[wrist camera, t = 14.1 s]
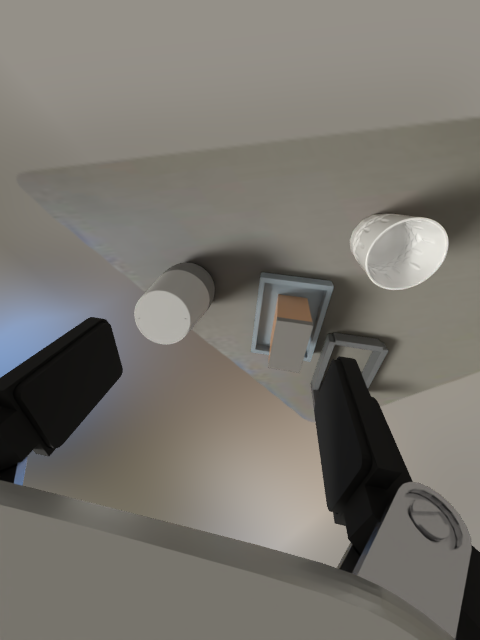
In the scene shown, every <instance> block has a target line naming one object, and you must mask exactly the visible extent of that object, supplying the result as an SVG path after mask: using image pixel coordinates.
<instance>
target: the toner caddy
mask: <svg viewBox="0 0 480 640" xmlns="http://www.w3.org/2000/svg"><path fill="white" fill-rule="evenodd" d="M312 328H313V322H312V318H311V313H310V308H309V304H308V299H307V298H303V297H295V296H288V295H281V294H278V298H277V304H276V309H275V315H274V321H273V326H272V332H271V339H270V351H269V363H268V368H272V369H278V370H284V371H290V372H296V373H300V370H301V366H302V363H303V359H304V356H305V352H306V349H307V345H308V342H309V339H310V335H311V332H312Z"/></svg>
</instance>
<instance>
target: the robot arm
mask: <svg viewBox="0 0 480 640" xmlns="http://www.w3.org/2000/svg"><path fill="white" fill-rule="evenodd" d="M122 370H123V369H122V365H121V361H120V357H119V354H118V350H117V346H116V343H115V339H114V335H113V332H112V328H111V325H110V324H109V323H108V322H107V320H105V319H101V318H94V317H90V318H88V319H86V320H85V321H84V322H82V323H81V324H79V325H78V326H76V327H75V328H73V329H72V330H70V331H69V332H67V333H66V334H64V335H63V336H62V337H60V338H59V339H57V340H56V341H54V342H53V343H51V344H50V345H48V346H47V347H45V348H44V349H43V350H41V351H39V352H38V353H36V354H35V355H33V356H32V357H30V358H29V359H27V360H26V361H25V362H23V363H22V364H20V365H19V366H17V367H16V368H14V369H13V370H11V371H10V372H8V373H7V374H5V375H4V376H2V377H1V378H0V640H480V552H479V551H478V550H476V549H475V548H474V547H473V546H472V545H471V537H470V534H469V532H468V529H467V527H466V525H465V523H464V521H463V520H462V518H461V516H460V515H459V514H458V512H457V511H456V510H455V509H454V507H453V506H452V505H451V504H450V503H449V502H448V501H447V500H446V499H445V498H444V497H442V496H441V495H440V494H439V493H437V492H436V491H434V490H433V489H431V488H430V487H428V486H425V485H423V484H420V483H416V482H412V479H411V477H410V475H409V472H408V470H407V468H406V466H405V463H404V461H403V459H402V456H401V454H400V452H399V449H398V447H397V445H396V443H395V440H394V438H393V436H392V434H391V431H390V429H389V426H388V424H387V422H386V420H385V417H384V415H383V413H382V410H381V408H380V406H379V404H378V402H377V400H376V399H375V398H374V397H371V396H370V393H369V391H368V388H367V386H366V383H365V381H364V379H363V376H362V374H361V371H360V369H359V367H358V364H357V362H356V360H355V359H352V358H346V357H338V358H337V360H334V359H333V360H332V361H331V364H330V366H329V369H328V372H327V374H326V377H325V380H324V382H323V385H322V387H321V390H320V393H319V395H318V398H317V401H316V403H315V409H314V413H315V421H316V428H317V435H318V443H319V449H320V457H321V465H322V472H323V479H324V487H325V494H326V501H327V507H328V509H329V511H331V512H333V514H334V521H335V523H336V524H340V525H344V526H346V529H347V534H348V539H349V540H350V542H351V543H350V545H349V547H348V548H347V550H346V552H345V554H344V556H343V557H342V559H341V561H340V563H339V565H338V567H337V568H334V567H331V566H329V565H326V564H323V563H320V562H316V561H312V560H309V559H305V558H302V557H298V556H294V555H291V554H287V553H284V552H280V551H277V550H273V549H269V548H266V547H262V546H259V545H255V544H251V543H247V542H243V541H240V540H235V539H232V538H228V537H224V536H220V535H216V534H212V533H208V532H205V531H201V530H197V529H193V528H189V527H185V526H181V525H177V524H173V523H169V522H165V521H161V520H157V519H154V518H150V517H146V516H142V515H138V514H134V513H130V512H126V511H122V510H118V509H114V508H110V507H106V506H102V505H98V504H94V503H90V502H86V501H82V500H78V499H74V498H70V497H67V496H62V495H58V494H54V493H50V492H46V491H42V490H38V489H34V488H30V487H26V486H23V481H24V475H25V470H26V464H27V458H28V455H29V453H30V452H31V451H32V450H33V451H34V452H35V453H36V454H41V455H45V456H50V454H52V452H53V451H54V450H55V449H56V448H58V447H60V446H61V445H62V444H63V443H64V442H65V441H66V440H67V439H68V438H69V436H70V435H71V434H72V433H73V432H74V431H75V429H76V428H77V427H78V426H79V425H80V423H81V422H82V421H83V420H84V419H85V418H86V416H87V415H88V414H89V413H90V412H91V410H92V409H93V408H94V407H95V406H96V405H97V404H98V402H99V401H100V400H101V399H102V398H103V397H104V395H105V394H106V393H107V392H108V391H109V389H110V388H111V387H112V386H113V385H114V384H115V382H116V381H117V380H118V379H119V378H120V376H121V375H122Z"/></svg>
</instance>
